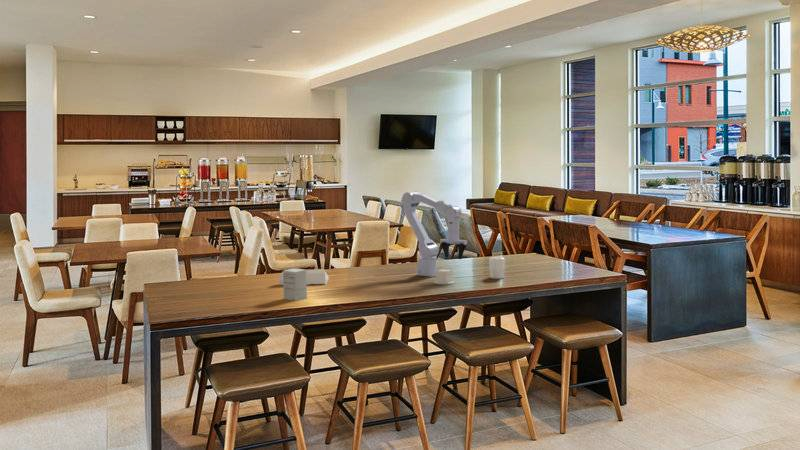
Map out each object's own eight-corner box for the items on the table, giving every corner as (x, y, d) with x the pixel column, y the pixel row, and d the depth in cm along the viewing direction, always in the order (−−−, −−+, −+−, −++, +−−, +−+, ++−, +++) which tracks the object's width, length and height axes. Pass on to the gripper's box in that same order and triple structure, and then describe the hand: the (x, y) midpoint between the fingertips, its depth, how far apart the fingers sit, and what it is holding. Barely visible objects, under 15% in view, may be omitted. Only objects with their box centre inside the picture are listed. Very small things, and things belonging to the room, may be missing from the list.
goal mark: (429, 283, 346) (429, 282, 346) (440, 279, 355) (440, 279, 355) (447, 285, 341) (447, 284, 341) (457, 281, 349) (457, 281, 349)
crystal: (327, 273, 354) (278, 275, 350) (328, 268, 348) (278, 270, 343) (328, 287, 351) (278, 290, 347) (329, 282, 345) (278, 285, 340)
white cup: (504, 279, 355) (504, 259, 354) (488, 278, 357) (488, 258, 356) (505, 276, 363) (505, 256, 362) (489, 276, 364) (489, 256, 363)
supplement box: (294, 296, 318) (294, 267, 317) (307, 298, 314) (306, 269, 313) (283, 299, 312) (282, 270, 311) (295, 301, 308) (295, 271, 307)
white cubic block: (435, 282, 347) (435, 271, 347) (442, 280, 352) (442, 269, 352) (446, 283, 344) (446, 272, 344) (452, 281, 349) (452, 270, 348)
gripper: (436, 231, 358) (436, 258, 359) (462, 232, 350) (462, 260, 351) (443, 229, 364) (444, 256, 365) (469, 231, 356) (469, 258, 357)
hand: (453, 258), depth 359 cm, fingers open, 7 cm apart
